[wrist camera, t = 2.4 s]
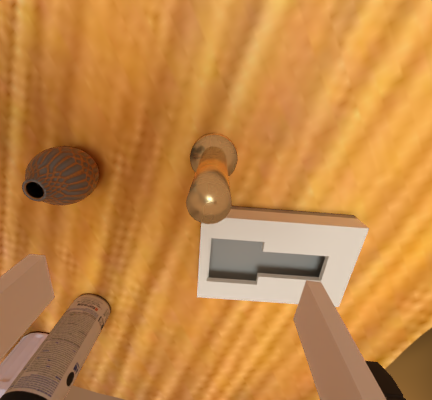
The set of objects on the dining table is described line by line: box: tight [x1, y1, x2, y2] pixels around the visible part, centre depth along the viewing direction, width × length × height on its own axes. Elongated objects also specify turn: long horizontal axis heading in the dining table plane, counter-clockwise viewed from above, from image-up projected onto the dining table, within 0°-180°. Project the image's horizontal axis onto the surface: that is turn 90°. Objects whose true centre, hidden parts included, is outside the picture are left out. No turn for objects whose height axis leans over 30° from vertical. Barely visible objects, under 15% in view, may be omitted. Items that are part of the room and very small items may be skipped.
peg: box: [186, 133, 237, 224], centre depth 23 cm, size 6×6×16 cm
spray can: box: [0, 294, 111, 400], centre depth 32 cm, size 7×7×20 cm
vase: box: [22, 146, 99, 205], centre depth 27 cm, size 7×7×9 cm
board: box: [197, 206, 369, 307], centre depth 34 cm, size 14×22×4 cm, turn 86°
